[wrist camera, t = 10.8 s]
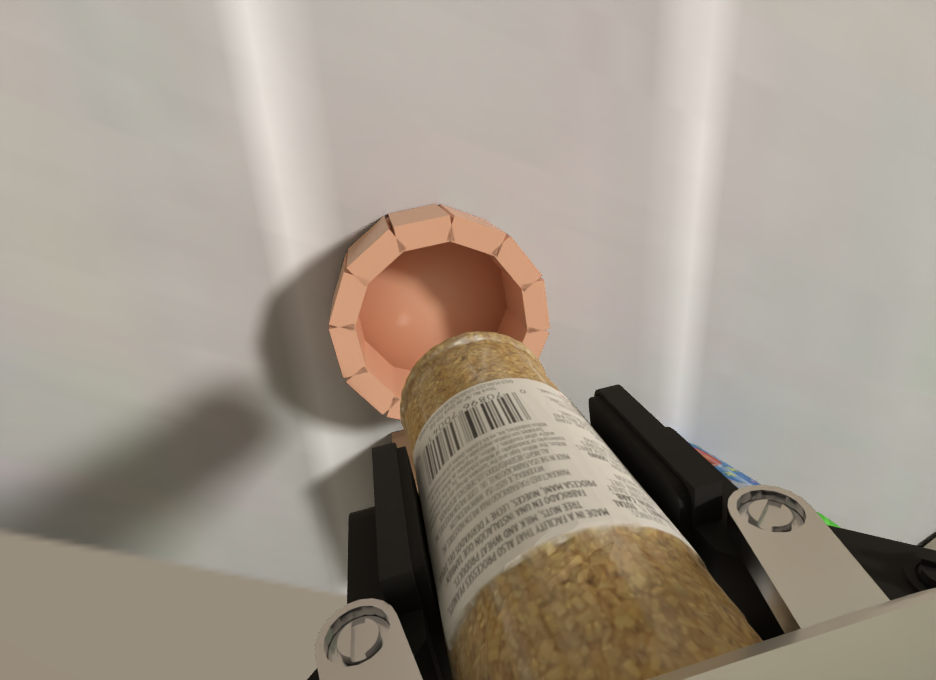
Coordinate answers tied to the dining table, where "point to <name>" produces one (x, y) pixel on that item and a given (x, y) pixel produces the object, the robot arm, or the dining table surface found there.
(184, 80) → the dining table surface
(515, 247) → the pot
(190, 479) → the dining table surface
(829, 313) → the dining table surface
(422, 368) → the sprinkles bottle
